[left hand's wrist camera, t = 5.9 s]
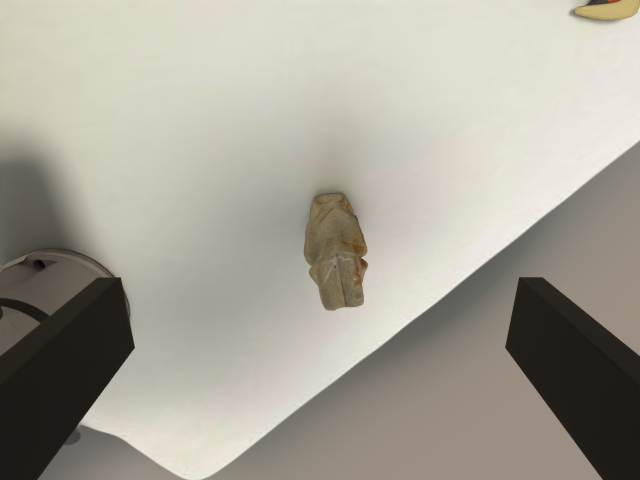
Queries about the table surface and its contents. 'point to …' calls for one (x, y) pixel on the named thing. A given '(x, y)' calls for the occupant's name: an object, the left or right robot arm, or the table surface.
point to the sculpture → (335, 251)
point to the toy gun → (609, 9)
